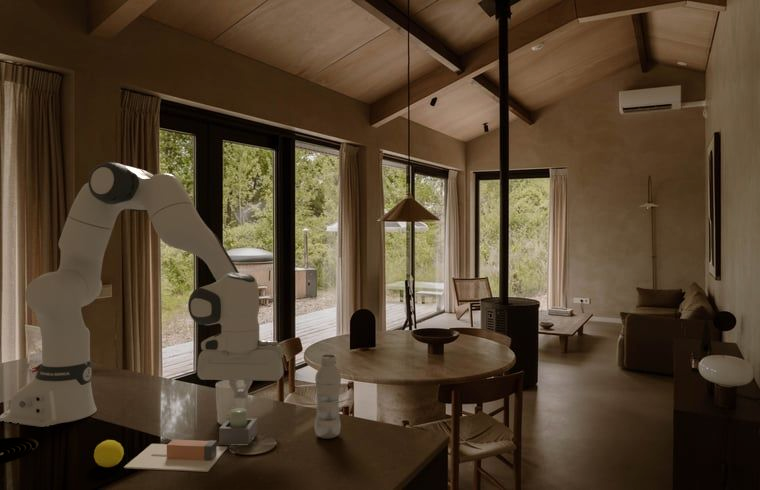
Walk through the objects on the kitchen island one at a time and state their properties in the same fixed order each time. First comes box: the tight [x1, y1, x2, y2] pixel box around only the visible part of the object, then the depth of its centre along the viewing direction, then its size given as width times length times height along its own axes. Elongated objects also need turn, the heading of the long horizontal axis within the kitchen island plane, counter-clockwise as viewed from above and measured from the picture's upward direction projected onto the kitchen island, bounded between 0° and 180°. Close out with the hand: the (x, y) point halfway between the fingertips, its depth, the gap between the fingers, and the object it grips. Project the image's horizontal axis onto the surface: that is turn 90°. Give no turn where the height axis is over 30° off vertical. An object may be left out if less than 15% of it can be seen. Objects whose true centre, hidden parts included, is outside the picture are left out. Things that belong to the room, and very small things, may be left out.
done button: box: [230, 408, 248, 428], centre depth 127 cm, size 4×4×5 cm
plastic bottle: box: [313, 354, 342, 440], centre depth 130 cm, size 6×7×20 cm
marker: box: [167, 439, 218, 460], centre depth 117 cm, size 10×3×3 cm, turn 87°
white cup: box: [215, 380, 247, 426], centre depth 139 cm, size 8×8×10 cm
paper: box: [123, 443, 228, 473], centre depth 117 cm, size 18×12×1 cm, turn 87°
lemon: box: [93, 439, 125, 468], centre depth 112 cm, size 7×5×5 cm
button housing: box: [218, 417, 258, 446], centre depth 127 cm, size 7×7×4 cm
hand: (240, 397), depth 127 cm, fingers closed
